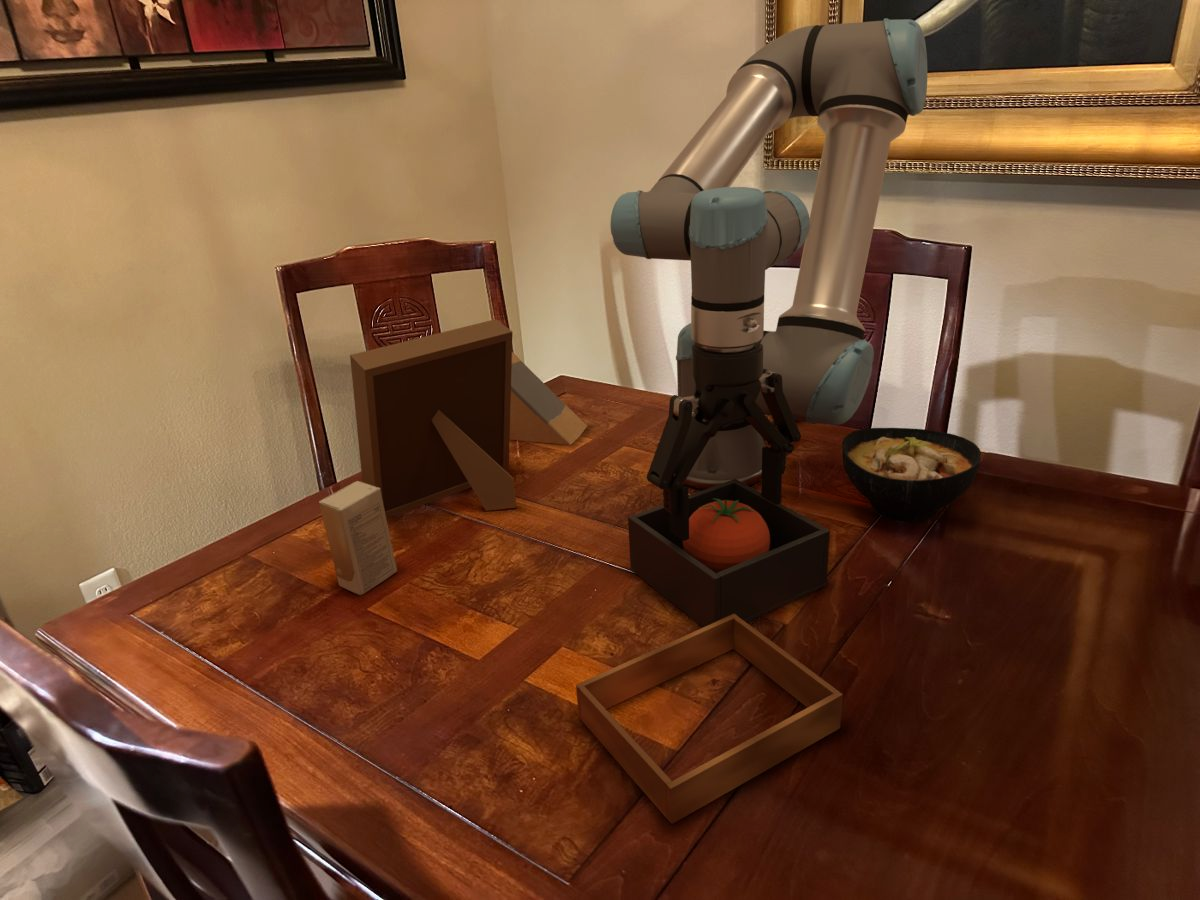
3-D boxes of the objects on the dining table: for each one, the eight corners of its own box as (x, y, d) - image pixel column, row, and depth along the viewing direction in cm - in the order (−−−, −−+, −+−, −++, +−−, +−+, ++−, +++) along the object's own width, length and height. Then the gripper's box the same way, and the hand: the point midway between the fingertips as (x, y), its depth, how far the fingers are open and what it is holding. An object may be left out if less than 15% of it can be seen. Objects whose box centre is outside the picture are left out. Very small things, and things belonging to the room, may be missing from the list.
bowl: (851, 472, 125) (856, 409, 120) (977, 490, 117) (986, 424, 113) (825, 526, 111) (830, 457, 107) (966, 550, 104) (976, 477, 99)
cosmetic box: (375, 563, 109) (359, 478, 104) (398, 572, 106) (383, 486, 101) (335, 587, 104) (316, 500, 99) (358, 597, 102) (340, 508, 97)
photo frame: (365, 511, 122) (333, 345, 112) (494, 465, 134) (476, 311, 123) (411, 550, 111) (379, 371, 101) (546, 497, 123) (531, 331, 112)
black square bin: (734, 529, 111) (735, 478, 108) (826, 586, 98) (830, 530, 95) (630, 569, 104) (627, 516, 101) (714, 637, 91) (714, 578, 88)
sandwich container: (571, 445, 139) (565, 359, 133) (488, 438, 144) (477, 354, 138) (589, 425, 146) (583, 342, 140) (509, 419, 151) (500, 338, 145)
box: (733, 644, 90) (734, 613, 88) (840, 728, 78) (843, 694, 76) (578, 717, 81) (575, 684, 79) (671, 824, 69) (670, 788, 67)
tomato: (769, 600, 96) (772, 523, 91) (679, 595, 97) (677, 520, 93) (768, 553, 105) (771, 481, 101) (686, 549, 106) (685, 479, 102)
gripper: (650, 377, 80) (657, 566, 89) (839, 325, 92) (828, 497, 100) (608, 358, 86) (619, 537, 95) (790, 312, 97) (784, 475, 106)
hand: (726, 517), depth 98 cm, fingers open, 13 cm apart
